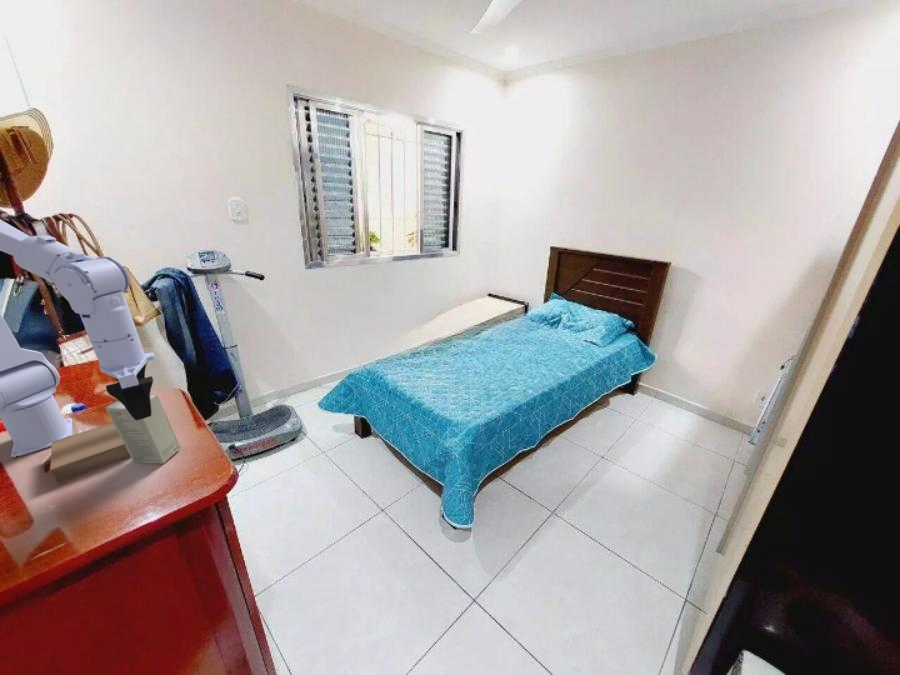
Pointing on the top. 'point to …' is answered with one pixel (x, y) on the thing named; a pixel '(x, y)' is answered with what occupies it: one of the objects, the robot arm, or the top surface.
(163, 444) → the skincare box
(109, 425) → the block
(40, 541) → the top surface
